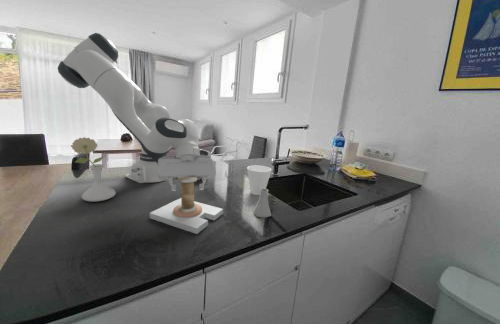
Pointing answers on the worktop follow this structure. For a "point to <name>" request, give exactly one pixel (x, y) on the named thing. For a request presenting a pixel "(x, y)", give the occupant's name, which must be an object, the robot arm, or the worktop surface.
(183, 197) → the bobbin
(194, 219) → the notched board
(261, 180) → the cup
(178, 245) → the worktop surface
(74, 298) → the worktop surface
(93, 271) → the worktop surface
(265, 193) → the flask
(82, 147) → the flower in vase
